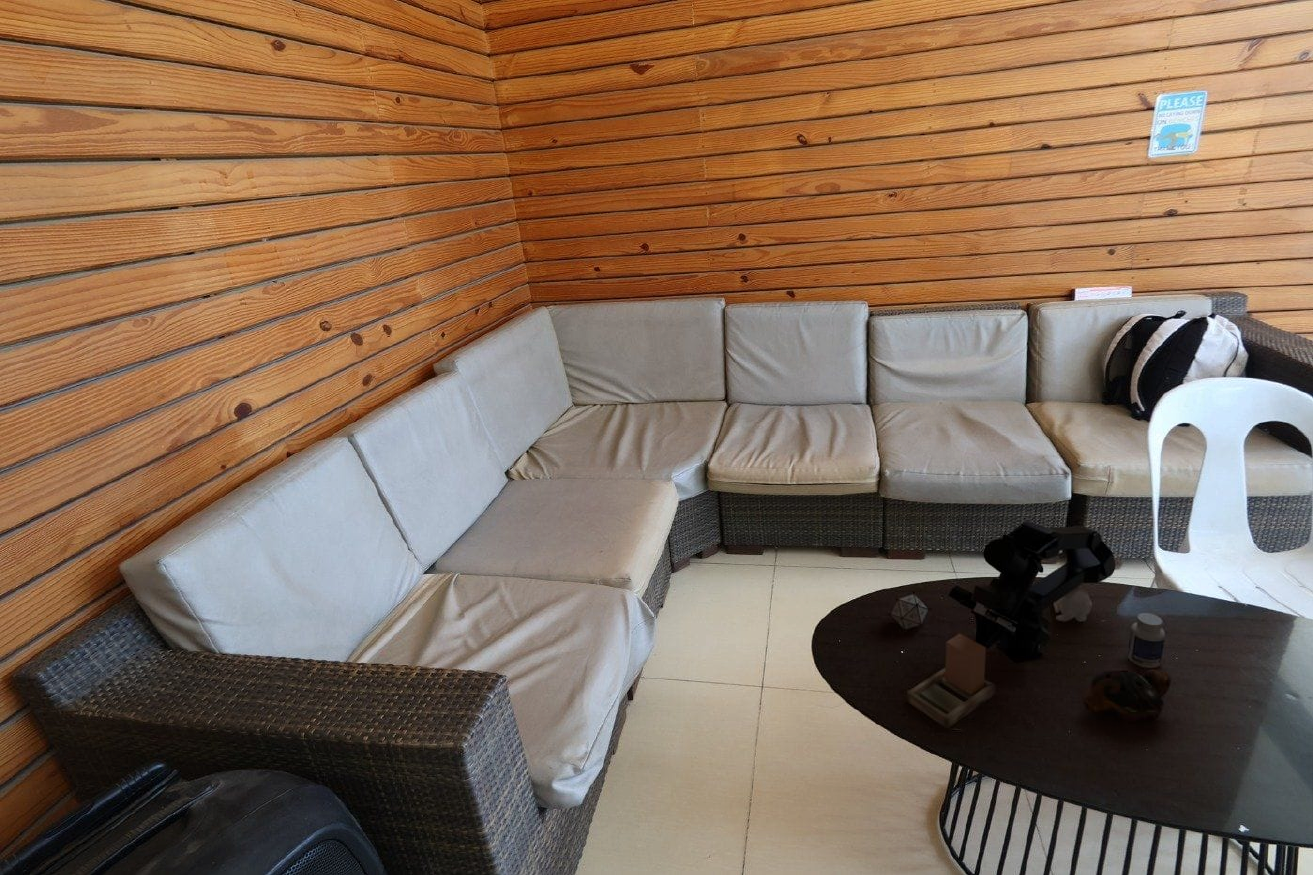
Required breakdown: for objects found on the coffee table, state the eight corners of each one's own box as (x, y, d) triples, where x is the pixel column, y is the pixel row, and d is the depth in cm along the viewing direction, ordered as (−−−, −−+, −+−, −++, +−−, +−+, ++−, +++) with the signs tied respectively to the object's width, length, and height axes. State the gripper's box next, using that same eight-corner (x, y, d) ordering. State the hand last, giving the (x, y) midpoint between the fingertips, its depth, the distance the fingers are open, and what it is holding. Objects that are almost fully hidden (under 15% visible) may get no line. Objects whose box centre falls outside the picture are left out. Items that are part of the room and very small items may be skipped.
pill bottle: (1167, 667, 131) (1174, 625, 128) (1138, 670, 131) (1145, 628, 128) (1148, 650, 136) (1154, 609, 133) (1121, 652, 136) (1126, 611, 133)
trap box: (953, 670, 137) (954, 661, 136) (994, 694, 130) (995, 685, 129) (906, 701, 131) (907, 692, 130) (947, 728, 123) (947, 719, 123)
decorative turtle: (1185, 720, 119) (1192, 685, 116) (1108, 743, 117) (1112, 709, 114) (1140, 681, 128) (1144, 649, 125) (1067, 702, 126) (1070, 670, 123)
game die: (917, 643, 151) (936, 628, 143) (880, 631, 152) (897, 616, 144) (920, 607, 157) (938, 591, 148) (884, 596, 157) (901, 579, 149)
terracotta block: (958, 670, 135) (959, 633, 132) (983, 686, 130) (985, 647, 127) (945, 679, 133) (946, 641, 130) (970, 695, 128) (972, 656, 125)
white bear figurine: (1061, 592, 143) (1042, 567, 154) (1060, 628, 145) (1041, 600, 156) (1095, 592, 141) (1073, 566, 153) (1093, 628, 143) (1072, 600, 155)
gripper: (953, 551, 136) (917, 619, 135) (1044, 590, 120) (1004, 667, 119) (978, 569, 142) (943, 634, 141) (1067, 608, 126) (1029, 682, 126)
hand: (976, 653), depth 132 cm, fingers closed
